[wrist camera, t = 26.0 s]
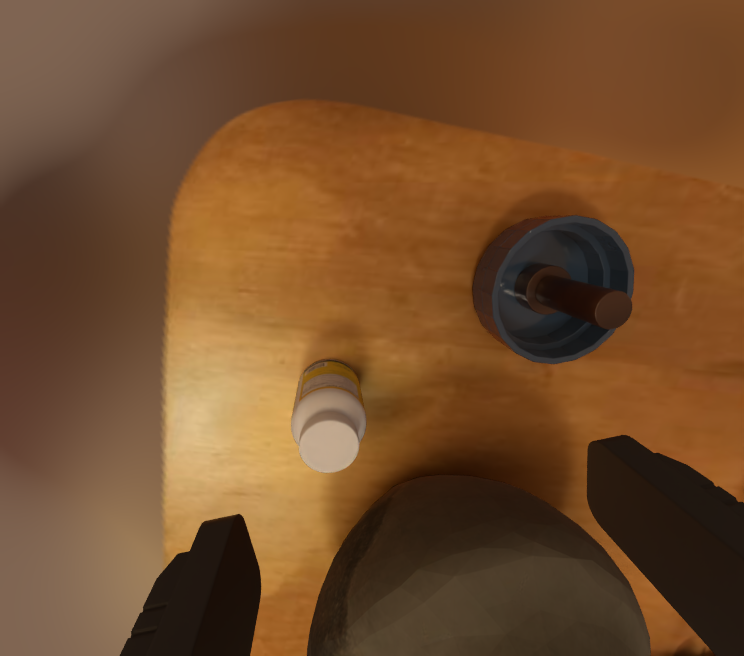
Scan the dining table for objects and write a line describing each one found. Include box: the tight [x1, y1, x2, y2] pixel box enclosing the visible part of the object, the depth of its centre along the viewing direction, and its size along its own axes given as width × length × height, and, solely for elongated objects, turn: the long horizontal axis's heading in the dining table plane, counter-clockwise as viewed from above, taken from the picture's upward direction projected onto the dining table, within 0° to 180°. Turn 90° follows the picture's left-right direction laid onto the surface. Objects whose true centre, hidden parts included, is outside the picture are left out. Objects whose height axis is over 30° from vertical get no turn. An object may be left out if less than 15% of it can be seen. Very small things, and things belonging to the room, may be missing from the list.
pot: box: [307, 475, 651, 656], centre depth 35 cm, size 29×32×25 cm
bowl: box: [473, 215, 634, 364], centre depth 37 cm, size 14×14×6 cm
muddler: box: [514, 263, 632, 329], centre depth 33 cm, size 5×5×11 cm
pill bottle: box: [291, 359, 366, 473], centre depth 34 cm, size 6×6×12 cm
